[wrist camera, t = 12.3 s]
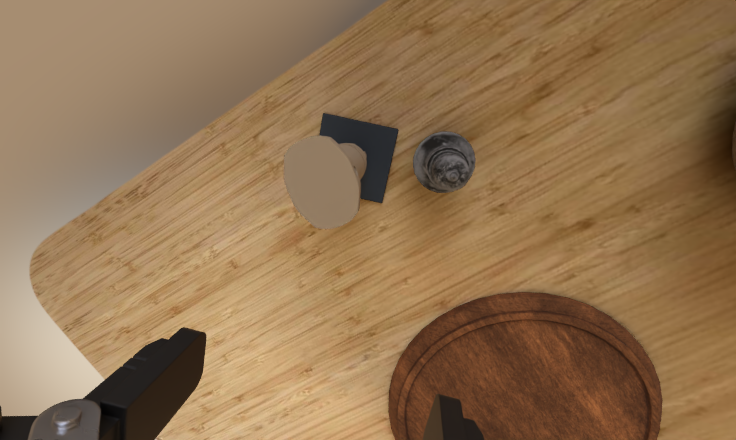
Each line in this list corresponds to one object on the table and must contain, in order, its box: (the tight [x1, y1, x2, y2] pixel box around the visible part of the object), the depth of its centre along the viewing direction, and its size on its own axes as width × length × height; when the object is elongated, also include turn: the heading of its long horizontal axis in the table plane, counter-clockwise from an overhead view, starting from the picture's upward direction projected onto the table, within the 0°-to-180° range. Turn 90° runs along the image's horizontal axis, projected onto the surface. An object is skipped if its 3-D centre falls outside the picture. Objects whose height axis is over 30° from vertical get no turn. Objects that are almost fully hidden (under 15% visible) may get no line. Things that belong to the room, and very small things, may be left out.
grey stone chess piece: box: [413, 132, 475, 193], centre depth 34 cm, size 6×6×12 cm
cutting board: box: [389, 292, 662, 440], centre depth 45 cm, size 32×32×2 cm
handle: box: [284, 135, 367, 229], centre depth 33 cm, size 5×6×15 cm
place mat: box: [320, 113, 398, 203], centre depth 40 cm, size 8×8×1 cm
